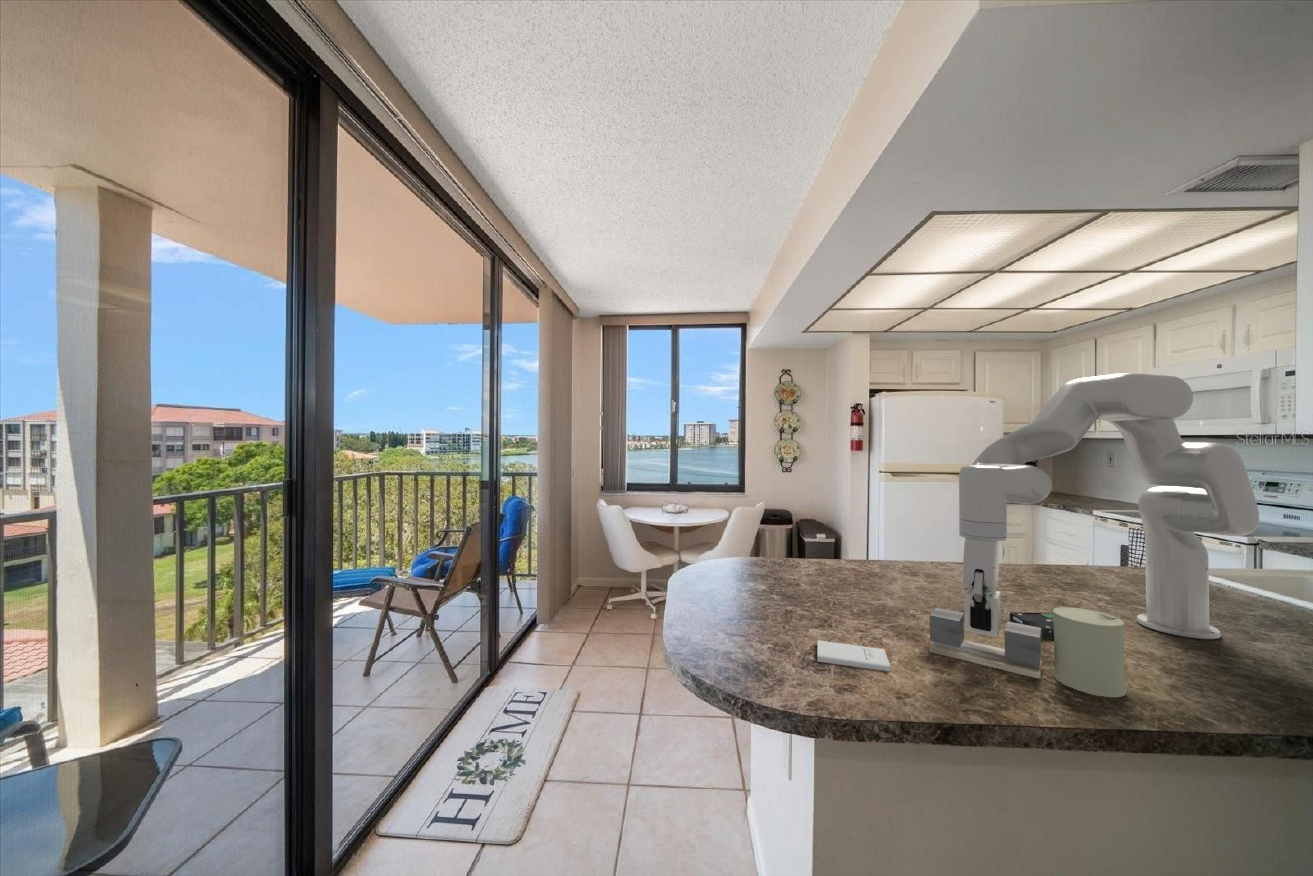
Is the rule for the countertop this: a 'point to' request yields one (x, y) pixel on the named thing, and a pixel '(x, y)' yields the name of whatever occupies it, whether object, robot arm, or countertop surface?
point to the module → (995, 613)
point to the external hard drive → (852, 655)
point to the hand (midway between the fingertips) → (982, 623)
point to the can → (1089, 651)
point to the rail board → (1016, 656)
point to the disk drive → (1036, 621)
